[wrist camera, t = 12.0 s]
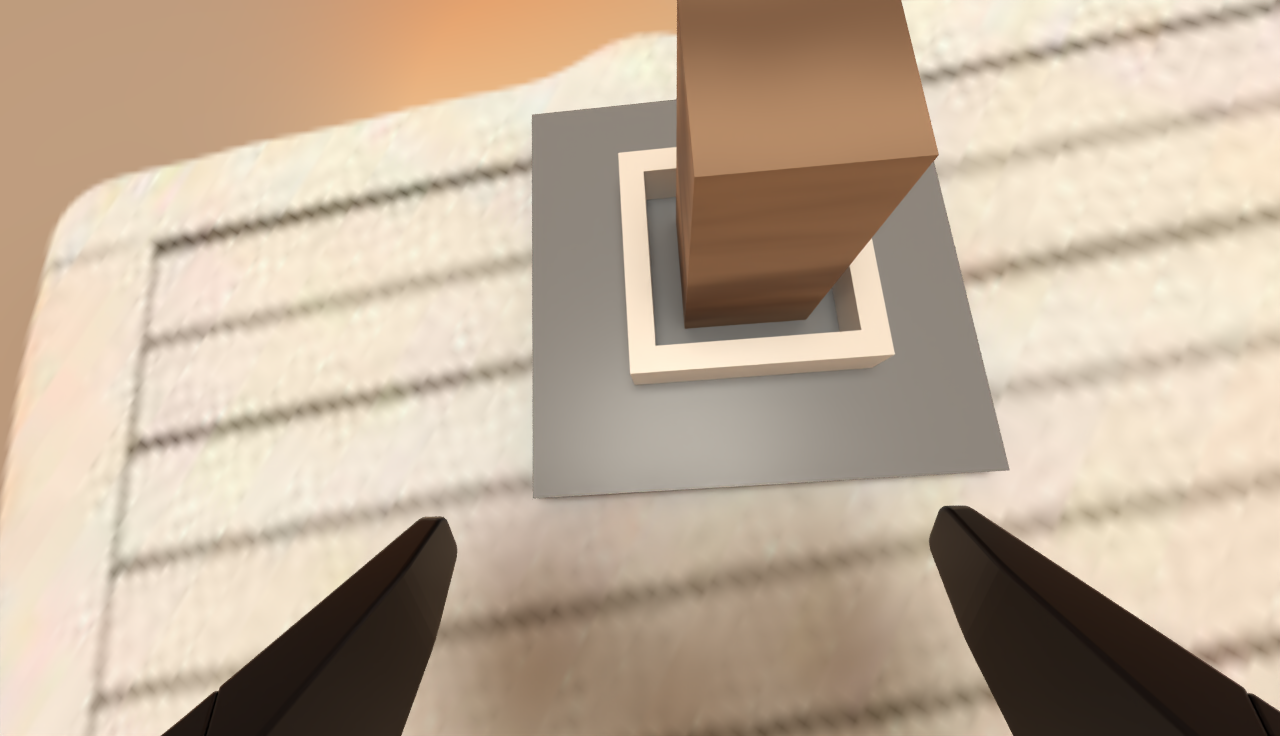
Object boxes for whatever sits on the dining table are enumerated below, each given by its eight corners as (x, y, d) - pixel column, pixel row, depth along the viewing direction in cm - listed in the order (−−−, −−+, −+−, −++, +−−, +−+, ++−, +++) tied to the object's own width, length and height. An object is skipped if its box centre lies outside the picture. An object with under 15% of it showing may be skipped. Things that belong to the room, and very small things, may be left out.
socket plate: (988, 470, 19) (1051, 468, 15) (541, 497, 20) (516, 500, 16) (900, 95, 23) (935, 34, 20) (539, 132, 24) (518, 80, 21)
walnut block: (805, 319, 19) (938, 154, 10) (684, 328, 20) (694, 177, 10) (789, 212, 20) (893, -31, 11) (675, 222, 21) (677, -6, 11)
